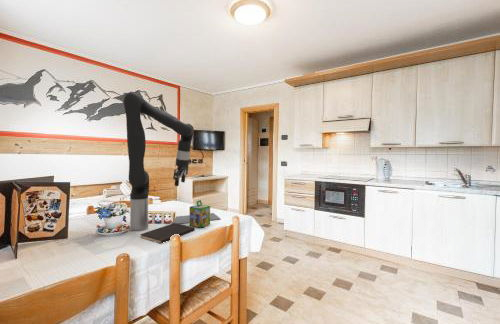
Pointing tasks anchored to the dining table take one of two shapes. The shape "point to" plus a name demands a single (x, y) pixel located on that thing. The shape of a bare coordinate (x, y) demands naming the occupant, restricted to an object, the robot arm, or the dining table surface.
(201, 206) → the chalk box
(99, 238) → the dining table surface
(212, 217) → the charcoal mat
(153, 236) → the hardcover book
